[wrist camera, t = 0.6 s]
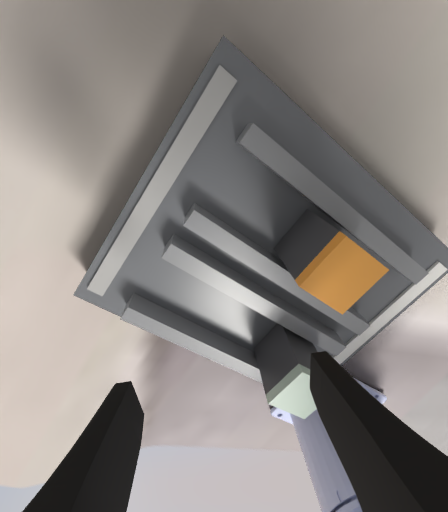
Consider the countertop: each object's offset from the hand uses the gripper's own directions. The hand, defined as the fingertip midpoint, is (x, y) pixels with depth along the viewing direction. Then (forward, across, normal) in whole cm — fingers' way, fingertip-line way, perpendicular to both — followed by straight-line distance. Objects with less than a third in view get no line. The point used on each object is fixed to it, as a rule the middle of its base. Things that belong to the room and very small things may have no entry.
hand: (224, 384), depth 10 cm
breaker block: (+10, -4, 0) cm, 10 cm away
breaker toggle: (+7, -6, -2) cm, 10 cm away
